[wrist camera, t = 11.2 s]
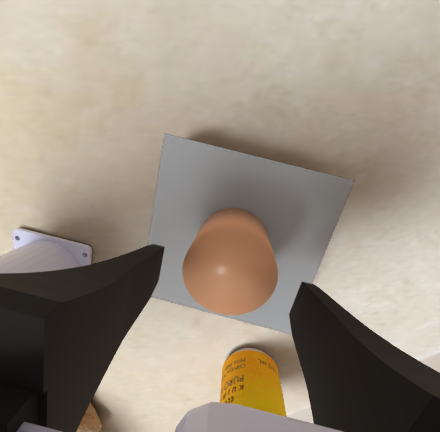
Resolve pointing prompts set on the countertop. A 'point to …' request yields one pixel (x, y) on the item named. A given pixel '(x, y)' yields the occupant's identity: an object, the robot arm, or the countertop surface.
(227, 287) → the tan rounded cylinder
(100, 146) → the countertop surface
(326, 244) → the lid
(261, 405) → the beer can
